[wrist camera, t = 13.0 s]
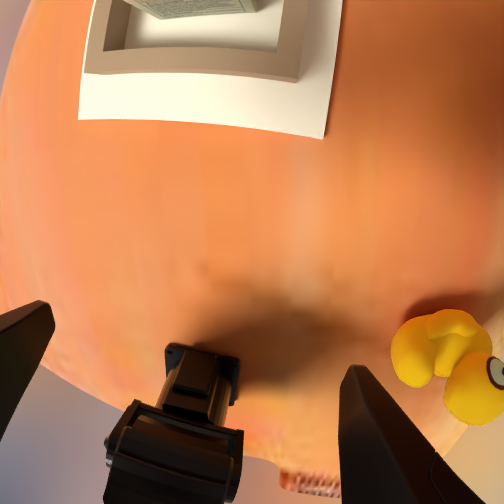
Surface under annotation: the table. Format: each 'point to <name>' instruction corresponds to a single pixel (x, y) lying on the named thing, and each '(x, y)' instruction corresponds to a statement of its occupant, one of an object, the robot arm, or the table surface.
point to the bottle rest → (213, 66)
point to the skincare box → (193, 7)
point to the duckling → (452, 363)
